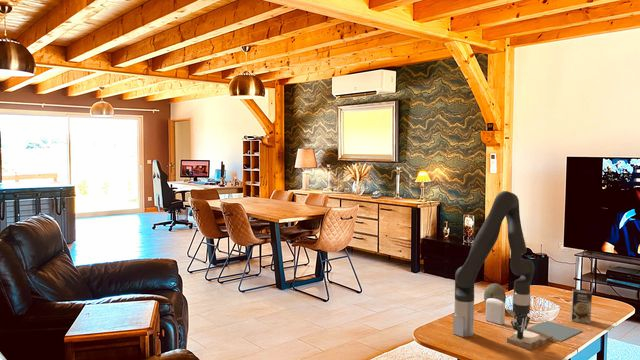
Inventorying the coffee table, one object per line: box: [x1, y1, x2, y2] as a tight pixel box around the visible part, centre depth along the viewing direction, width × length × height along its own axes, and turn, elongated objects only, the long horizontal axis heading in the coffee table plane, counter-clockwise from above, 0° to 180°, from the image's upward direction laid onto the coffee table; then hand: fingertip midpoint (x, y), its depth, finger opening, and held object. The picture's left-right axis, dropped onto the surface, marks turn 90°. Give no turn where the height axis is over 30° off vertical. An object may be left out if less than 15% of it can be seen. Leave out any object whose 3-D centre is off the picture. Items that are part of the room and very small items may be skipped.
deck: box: [506, 329, 554, 351], centre depth 249 cm, size 20×12×2 cm, turn 128°
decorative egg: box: [483, 282, 506, 304], centre depth 295 cm, size 12×12×15 cm
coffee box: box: [570, 288, 593, 324], centre depth 277 cm, size 9×6×16 cm
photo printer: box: [484, 298, 506, 325], centre depth 274 cm, size 10×4×12 cm, turn 39°
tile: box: [512, 330, 540, 344], centre depth 246 cm, size 8×9×2 cm
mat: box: [525, 320, 583, 343], centre depth 262 cm, size 22×19×1 cm
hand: (520, 338), depth 243 cm, fingers closed
